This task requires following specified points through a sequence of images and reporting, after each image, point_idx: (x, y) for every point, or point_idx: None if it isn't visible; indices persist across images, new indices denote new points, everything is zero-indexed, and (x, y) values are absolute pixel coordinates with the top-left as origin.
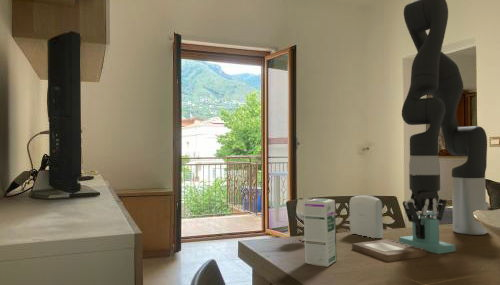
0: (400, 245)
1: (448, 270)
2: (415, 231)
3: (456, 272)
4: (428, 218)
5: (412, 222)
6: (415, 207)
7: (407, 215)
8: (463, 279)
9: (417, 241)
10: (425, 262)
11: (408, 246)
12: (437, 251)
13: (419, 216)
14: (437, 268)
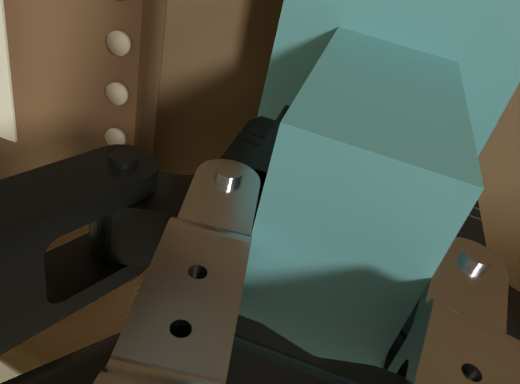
0: (70, 65)
1: (56, 329)
2: (238, 134)
3: (62, 350)
4: (326, 329)
5: (301, 88)
6: (94, 345)
7: (21, 185)
8: (25, 372)
9: (277, 108)
10: (59, 242)
11: (100, 122)
12: None
13: (427, 187)
14: None
